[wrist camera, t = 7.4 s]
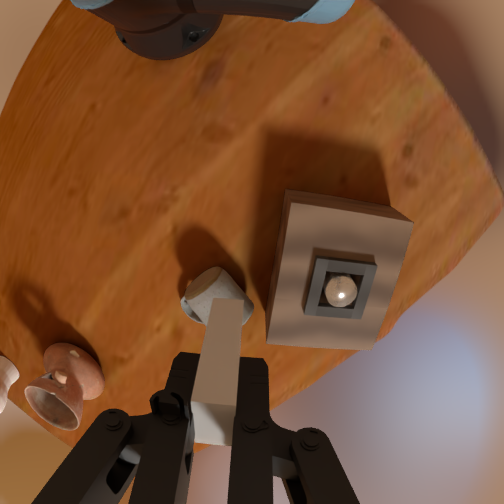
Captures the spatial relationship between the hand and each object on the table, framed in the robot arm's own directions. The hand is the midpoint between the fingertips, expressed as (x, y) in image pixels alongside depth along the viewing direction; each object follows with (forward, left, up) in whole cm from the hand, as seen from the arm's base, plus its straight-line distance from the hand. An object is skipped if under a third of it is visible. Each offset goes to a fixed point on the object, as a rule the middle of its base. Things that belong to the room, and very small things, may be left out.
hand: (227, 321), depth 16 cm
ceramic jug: (+39, -31, -31) cm, 59 cm away
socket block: (+9, +13, -30) cm, 34 cm away
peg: (+9, +13, -29) cm, 33 cm away
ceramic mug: (+16, -3, -31) cm, 35 cm away
